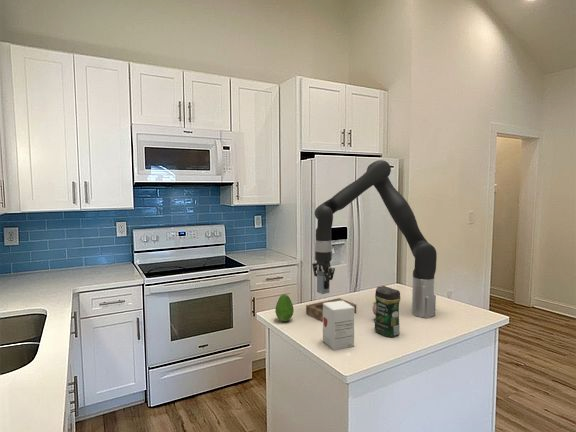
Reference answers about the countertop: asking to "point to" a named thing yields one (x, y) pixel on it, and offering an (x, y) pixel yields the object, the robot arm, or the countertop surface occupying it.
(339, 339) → the supplement box
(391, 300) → the coffee jar
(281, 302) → the avocado
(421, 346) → the countertop surface
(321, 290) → the plug
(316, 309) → the socket block
